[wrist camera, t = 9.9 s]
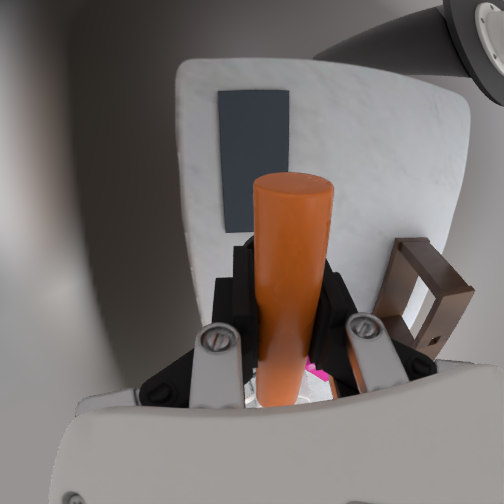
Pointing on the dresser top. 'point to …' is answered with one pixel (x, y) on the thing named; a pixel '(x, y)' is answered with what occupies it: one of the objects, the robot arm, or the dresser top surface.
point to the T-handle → (287, 276)
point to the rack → (440, 284)
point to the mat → (250, 148)
